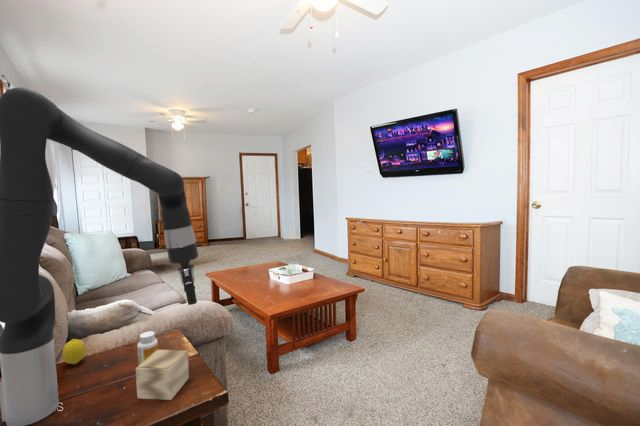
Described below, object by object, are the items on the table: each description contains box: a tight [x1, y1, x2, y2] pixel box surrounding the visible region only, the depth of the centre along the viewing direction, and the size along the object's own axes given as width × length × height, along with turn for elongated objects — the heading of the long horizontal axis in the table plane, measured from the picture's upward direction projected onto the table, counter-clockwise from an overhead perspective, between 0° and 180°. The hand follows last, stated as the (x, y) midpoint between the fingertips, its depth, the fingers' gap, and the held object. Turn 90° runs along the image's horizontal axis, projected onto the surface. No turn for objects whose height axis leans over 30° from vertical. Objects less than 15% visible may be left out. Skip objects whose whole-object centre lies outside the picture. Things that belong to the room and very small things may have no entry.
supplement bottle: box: [136, 330, 159, 367], centre depth 92 cm, size 5×5×10 cm
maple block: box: [135, 349, 190, 401], centre depth 82 cm, size 9×9×8 cm
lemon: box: [61, 338, 87, 365], centre depth 93 cm, size 6×6×8 cm
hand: (192, 298), depth 86 cm, fingers open, 8 cm apart
